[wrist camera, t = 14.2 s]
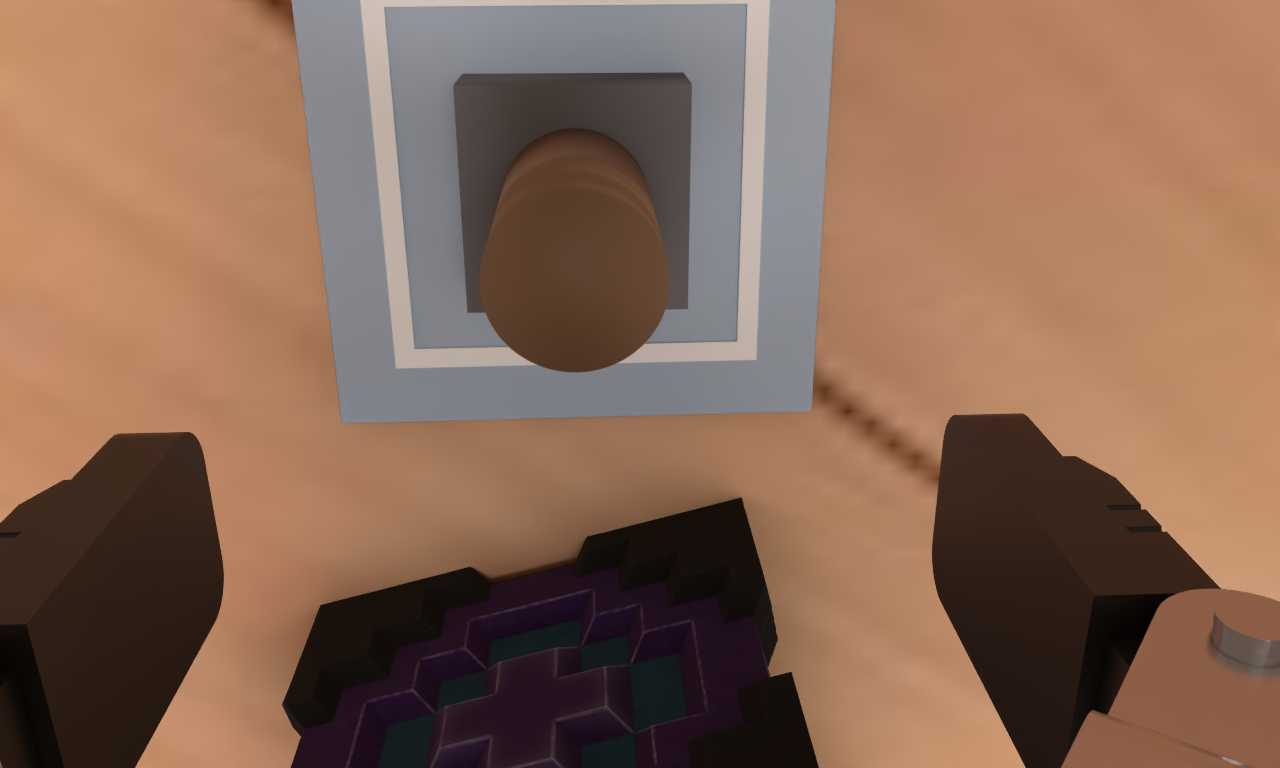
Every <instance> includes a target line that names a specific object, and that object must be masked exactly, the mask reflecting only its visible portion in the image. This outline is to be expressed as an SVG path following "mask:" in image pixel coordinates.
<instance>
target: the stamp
mask: <svg viewBox="0 0 1280 768" xmlns="http://www.w3.org/2000/svg"><path fill="white" fill-rule="evenodd" d="M453 92H454V108H455V124H456V140H457V156H458V171H459V187H460V203H461V219H462V235H463V251H464V267H465V283H466V299H467V313H486V315H487V318H488V320H489V322H490V323H491V325H492V327H493V329H494V330H495V332H496V333H497V334H498V336H499V337H500V338H501V339H502V341H503V342H504V343H505V344H507V345H508V346H509V347H510V348H511V349H512V350H513V351H514V352H516V353H517V354H518V355H520V356H521V357H523V358H525V359H526V360H528V361H530V362H532V363H534V364H536V365H539V366H541V367H544V368H548V369H551V370H556V371H562V372H576V373H578V372H590V371H595V370H599V369H603V368H606V367H609V366H612V365H614V364H616V363H618V362H620V361H622V360H624V359H626V358H627V357H629V356H630V355H632V354H633V353H635V352H636V351H637V350H638V349H639V348H641V347H642V346H643V345H644V344H645V343H646V341H647V340H648V339H649V338H650V337H651V336H652V334H653V333H654V331H655V330H656V329H657V327H658V325H659V323H660V321H661V319H662V317H663V315H664V312H665V310H676V309H688V279H689V222H690V166H691V109H692V83H691V82H690V81H689V79H688V78H687V76H686V75H685V74H684V72H678V73H514V74H462V75H461V76H460V77H459V79H458V80H457V81H456V82H455V84H454V85H453Z"/></svg>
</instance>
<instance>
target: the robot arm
mask: <svg viewBox="0 0 1280 768" xmlns="http://www.w3.org/2000/svg"><path fill="white" fill-rule="evenodd" d="M932 563H933V573H934V580H935V585H936V589H937V593H938V596H939V599H940V601H941V603H942V605H943V607H944V609H945V611H946V613H947V615H948V617H949V619H950V621H951V623H952V625H953V627H954V629H955V630H956V632H957V634H958V636H959V638H960V640H961V642H962V644H963V646H964V648H965V650H966V652H967V654H968V656H969V658H970V660H971V662H972V664H973V666H974V668H975V669H976V671H977V673H978V675H979V677H980V679H981V681H982V683H983V685H984V687H985V689H986V691H987V693H988V695H989V697H990V699H991V701H992V703H993V705H994V707H995V708H996V710H997V712H998V714H999V716H1000V718H1001V720H1002V722H1003V724H1004V726H1005V728H1006V730H1007V732H1008V734H1009V736H1010V738H1011V740H1012V742H1013V744H1014V746H1015V747H1016V749H1017V751H1018V753H1019V755H1020V757H1021V759H1022V761H1023V763H1024V765H1025V767H1026V768H1280V601H1276V600H1273V599H1270V598H1267V597H1264V596H1260V595H1256V594H1252V593H1247V592H1241V591H1235V590H1226V589H1221V588H1220V587H1219V586H1218V585H1217V584H1216V583H1215V582H1214V581H1213V580H1212V579H1211V578H1210V577H1209V576H1208V575H1207V574H1206V573H1205V572H1204V571H1203V569H1202V568H1201V567H1200V566H1199V565H1198V564H1197V563H1196V562H1195V561H1194V560H1193V559H1192V558H1191V557H1190V556H1189V555H1188V554H1187V553H1186V552H1185V550H1184V549H1183V548H1182V547H1181V546H1180V545H1179V544H1178V543H1177V542H1176V541H1175V540H1174V539H1173V538H1172V537H1171V536H1170V535H1169V534H1168V533H1167V532H1162V530H1161V525H1160V524H1159V523H1158V522H1157V521H1156V520H1155V519H1154V518H1153V517H1152V516H1151V515H1150V514H1149V512H1148V511H1147V510H1141V504H1140V503H1139V502H1138V501H1137V500H1136V499H1135V498H1134V497H1133V496H1132V495H1131V493H1130V492H1129V491H1128V490H1127V489H1126V488H1125V487H1124V486H1123V485H1122V484H1121V483H1120V482H1119V481H1118V480H1117V479H1116V478H1115V477H1113V476H1111V475H1109V474H1107V473H1106V472H1104V471H1102V470H1100V469H1098V468H1096V467H1094V466H1093V465H1091V464H1089V463H1087V462H1085V461H1083V460H1082V459H1080V458H1078V457H1076V456H1062V455H1061V454H1060V453H1059V452H1058V450H1057V449H1056V448H1055V447H1054V446H1053V445H1052V444H1051V443H1050V441H1049V440H1048V439H1047V438H1046V437H1045V436H1044V435H1043V434H1042V432H1041V431H1040V430H1039V429H1038V428H1037V427H1036V426H1035V424H1034V423H1033V422H1032V421H1031V420H1030V419H1029V418H1028V417H1027V416H1026V415H1024V414H981V415H954V416H952V417H951V418H950V419H949V421H948V423H947V426H946V429H945V434H944V440H943V448H942V457H941V467H940V476H939V486H938V495H937V505H936V514H935V524H934V533H933V544H932ZM223 583H224V571H223V561H222V555H221V549H220V543H219V538H218V532H217V527H216V521H215V516H214V510H213V504H212V499H211V493H210V488H209V482H208V476H207V471H206V465H205V460H204V455H203V451H202V448H201V445H200V443H199V441H198V439H197V438H196V436H195V435H194V434H192V433H190V432H172V433H130V434H116V435H114V436H113V437H112V438H110V439H109V441H108V442H107V443H106V444H105V445H104V446H103V447H102V448H101V449H100V450H99V451H98V452H97V453H96V454H95V455H94V456H93V457H92V458H91V459H90V461H89V462H88V463H87V464H86V465H85V466H84V467H83V468H82V469H81V470H80V471H79V472H78V473H77V474H76V475H75V476H74V477H73V478H72V479H71V480H63V481H61V482H59V483H57V484H56V485H54V486H52V487H50V488H48V489H47V490H45V491H43V492H41V493H39V494H38V495H36V496H34V497H32V498H30V499H29V500H27V501H25V502H23V503H21V504H19V505H18V506H17V507H16V508H15V509H14V510H13V511H12V512H11V513H10V514H9V515H8V516H7V517H6V518H5V519H4V520H3V521H2V522H1V523H0V768H135V767H136V765H137V763H138V761H139V759H140V758H141V756H142V754H143V752H144V750H145V749H146V747H147V745H148V743H149V741H150V739H151V738H152V736H153V734H154V732H155V730H156V728H157V727H158V725H159V723H160V721H161V719H162V718H163V716H164V714H165V712H166V710H167V708H168V707H169V705H170V703H171V701H172V699H173V698H174V696H175V694H176V692H177V690H178V688H179V687H180V685H181V683H182V681H183V679H184V678H185V676H186V674H187V672H188V670H189V668H190V667H191V665H192V663H193V661H194V659H195V657H196V656H197V654H198V652H199V650H200V648H201V647H202V645H203V643H204V641H205V639H206V637H207V636H208V634H209V632H210V630H211V628H212V627H213V625H214V623H215V621H216V619H217V616H218V613H219V610H220V606H221V601H222V595H223Z"/></svg>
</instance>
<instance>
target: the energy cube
mask: <svg viewBox="0 0 1280 768" xmlns="http://www.w3.org/2000/svg"><path fill="white" fill-rule="evenodd" d="M777 640H778V637H777V634H776V627H775V623H774V617H773V613H772V606H771V602H770V598H769V594H768V590H767V586H766V582H765V579H764V575H763V571H762V568H761V564H760V561H759V557H758V554H757V550H756V547H755V543H754V540H753V536H752V533H751V529H750V526H749V522H748V519H747V515H746V512H745V508H744V505H743V501H742V498H738V499H734V500H730V501H726V502H722V503H718V504H714V505H710V506H707V507H703V508H699V509H695V510H691V511H687V512H683V513H679V514H675V515H671V516H667V517H664V518H660V519H656V520H652V521H648V522H644V523H640V524H636V525H632V526H628V527H624V528H620V529H617V530H613V531H609V532H604V533H600V534H596V535H592V536H588V537H587V538H586V540H585V542H584V545H583V547H582V550H581V552H580V554H579V557H578V559H577V561H576V563H575V564H571V565H567V566H564V567H560V568H556V569H552V570H548V571H544V572H541V573H537V574H533V575H529V576H525V577H521V578H517V579H513V580H509V581H505V582H501V583H497V584H493V585H491V584H489V583H488V582H487V581H486V580H485V579H484V578H483V577H482V576H481V575H480V574H479V573H478V572H477V571H476V570H474V569H473V568H471V567H467V568H463V569H460V570H456V571H452V572H449V573H445V574H441V575H437V576H433V577H429V578H425V579H421V580H417V581H413V582H409V583H406V584H402V585H398V586H394V587H390V588H386V589H382V590H378V591H374V592H371V593H367V594H363V595H359V596H355V597H351V598H347V599H343V600H339V601H335V602H332V603H328V604H324V605H320V608H319V610H318V613H317V616H316V618H315V621H314V624H313V626H312V629H311V631H310V634H309V637H308V639H307V642H306V645H305V647H304V650H303V652H302V655H301V658H300V660H299V663H298V665H297V668H296V671H295V673H294V676H293V679H292V681H291V684H290V686H289V689H288V691H287V694H286V696H285V699H284V701H283V704H282V706H283V708H284V710H285V712H286V714H287V716H288V718H289V720H290V722H291V724H292V726H293V728H294V729H295V730H296V731H297V732H298V733H299V735H300V736H301V739H300V742H299V745H298V748H297V751H296V754H295V757H294V760H293V763H292V766H291V768H819V767H818V763H817V760H816V756H815V753H814V749H813V746H812V742H811V739H810V735H809V732H808V728H807V725H806V721H805V718H804V714H803V711H802V707H801V704H800V700H799V697H798V693H797V690H796V686H795V683H794V679H793V676H792V672H789V673H785V674H781V675H777V676H773V677H770V673H769V670H768V666H769V663H770V660H771V657H772V654H773V651H774V648H775V646H776V643H777Z"/></svg>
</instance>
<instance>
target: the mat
mask: <svg viewBox="0 0 1280 768" xmlns="http://www.w3.org/2000/svg"><path fill="white" fill-rule="evenodd" d="M835 4H836V0H292V8H293V17H294V25H295V33H296V42H297V50H298V59H299V67H300V75H301V84H302V92H303V100H304V109H305V117H306V126H307V134H308V142H309V151H310V159H311V167H312V176H313V184H314V193H315V201H316V209H317V218H318V226H319V234H320V243H321V251H322V260H323V268H324V276H325V285H326V293H327V301H328V310H329V318H330V326H331V335H332V343H333V352H334V360H335V368H336V377H337V385H338V393H339V402H340V410H341V419H342V424H344V423H382V422H421V421H459V420H497V419H535V418H573V417H612V416H650V415H688V414H726V413H764V412H802V411H812V394H813V377H814V360H815V343H816V326H817V309H818V292H819V275H820V258H821V241H822V224H823V208H824V191H825V174H826V157H827V140H828V123H829V106H830V89H831V72H832V55H833V38H834V21H835ZM678 72H684V74H685V75H686V76H687V78H688V79H689V81H690V82H691V83H692V109H691V166H690V222H689V279H688V309H676V310H665V312H664V315H663V317H662V319H661V321H660V323H659V325H658V327H657V329H656V330H655V331H654V333H653V334H652V336H651V337H650V338H649V339H648V340H647V341H646V343H645V344H644V345H643V346H642V347H641V348H639V349H638V350H637V351H636V352H635V353H633V354H632V355H630V356H629V357H627V358H626V359H624V360H622V361H620V362H618V363H616V364H614V365H612V366H609V367H606V368H603V369H599V370H595V371H590V372H578V373H576V372H562V371H556V370H551V369H548V368H544V367H541V366H539V365H536V364H534V363H532V362H530V361H528V360H526V359H525V358H523V357H521V356H520V355H518V354H517V353H516V352H514V351H513V350H512V349H511V348H510V347H509V346H508V345H507V344H505V343H504V342H503V341H502V339H501V338H500V337H499V336H498V334H497V333H496V332H495V330H494V329H493V327H492V325H491V323H490V322H489V320H488V318H487V315H486V313H467V299H466V283H465V267H464V251H463V235H462V219H461V203H460V187H459V171H458V156H457V140H456V124H455V108H454V92H453V85H454V84H455V82H456V81H457V80H458V79H459V77H460V76H461V75H462V74H514V73H678Z"/></svg>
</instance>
